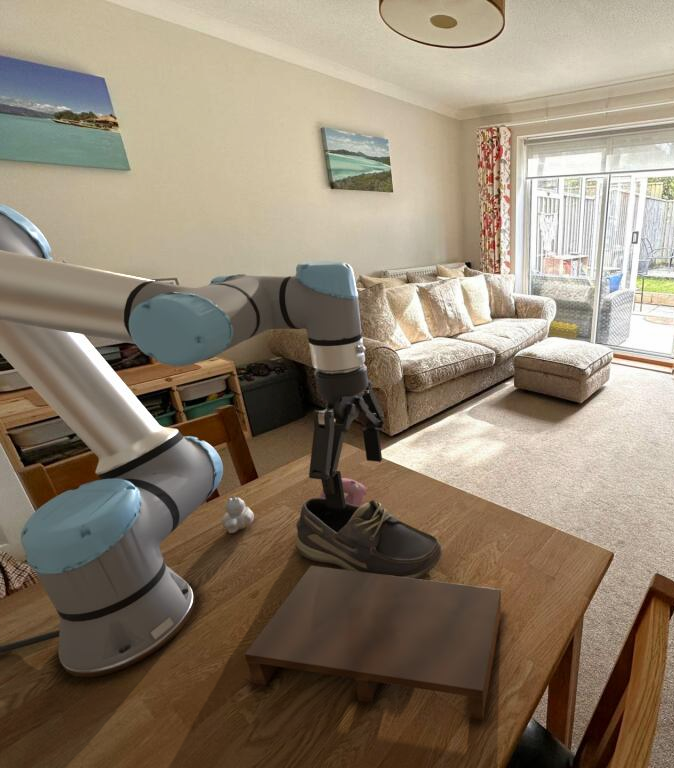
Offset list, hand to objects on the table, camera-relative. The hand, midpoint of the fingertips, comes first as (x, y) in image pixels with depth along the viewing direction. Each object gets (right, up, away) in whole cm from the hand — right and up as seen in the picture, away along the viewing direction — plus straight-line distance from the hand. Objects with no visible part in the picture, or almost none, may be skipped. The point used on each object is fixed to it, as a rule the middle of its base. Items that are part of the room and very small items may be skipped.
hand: (357, 481), depth 70 cm
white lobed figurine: (-29, -13, +13) cm, 34 cm away
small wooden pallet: (+8, -23, -10) cm, 26 cm away
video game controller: (-11, -10, +20) cm, 25 cm away
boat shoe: (-1, -16, +6) cm, 18 cm away
